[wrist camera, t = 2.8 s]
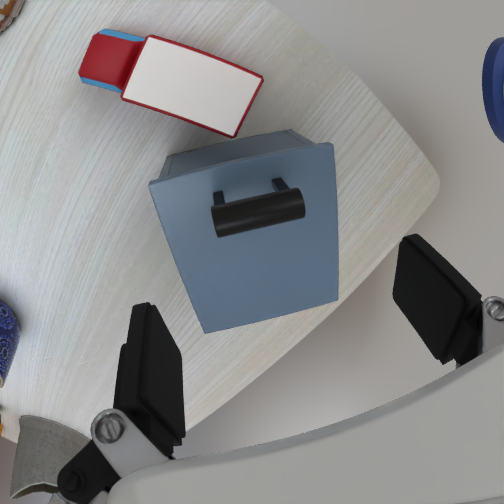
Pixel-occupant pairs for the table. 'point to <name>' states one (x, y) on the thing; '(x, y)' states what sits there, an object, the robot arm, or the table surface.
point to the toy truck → (172, 79)
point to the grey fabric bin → (42, 455)
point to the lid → (254, 234)
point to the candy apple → (9, 12)
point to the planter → (7, 340)
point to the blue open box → (232, 151)
